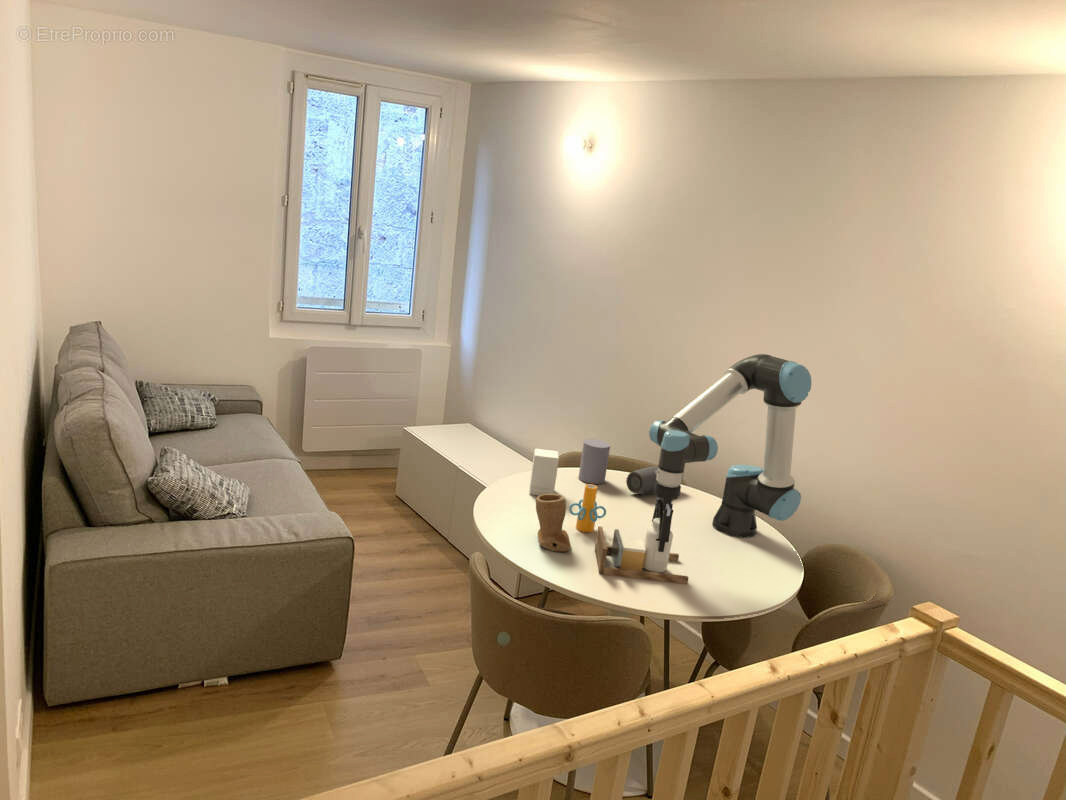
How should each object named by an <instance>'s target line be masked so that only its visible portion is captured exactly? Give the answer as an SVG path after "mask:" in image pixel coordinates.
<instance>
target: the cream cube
mask: <svg viewBox="0 0 1066 800" xmlns="http://www.w3.org/2000/svg"><path fill="white" fill-rule="evenodd" d="M621 540H622V544H623V554H622V560H621V566H620V568H622V569H631V570H639V571H643V561H644V556H645V552H646V549H645V546H644V541H643V539H636V538H628V537H621Z"/></svg>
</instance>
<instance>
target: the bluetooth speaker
mask: <svg viewBox="0 0 1066 800" xmlns="http://www.w3.org/2000/svg"><path fill="white" fill-rule="evenodd" d="M655 471H658V465H654V466H649V467H645V468H640V469H637V470H634V471H633V470H632V472H630V473H629V474H628V475H627V477H626V480H625V482H626V486H627V489H628V490H629V491H630V492H631V493H633V494H644V495H652V494H654V487H655V482H656V481H657V480H656V477H657V474H656V473H655Z"/></svg>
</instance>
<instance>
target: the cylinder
mask: <svg viewBox="0 0 1066 800" xmlns="http://www.w3.org/2000/svg"><path fill="white" fill-rule="evenodd" d="M597 493H598V486H597V484H590V483H587V484H585V485H584V491H583V499H580V500H579V502H574V503H571V504H570V506H569V508H568V511H569V513H570V515H573V516H577V517H576V525H575V528H576V530H577V531H579V532H583V533H592V532H594V531H595V525H596V522H597V521H598V519H602V518H604V517H605V516H606V515H607V509H606V508H605V507H604V505H598V504H597V501H596V499H597ZM575 506H576V507H578V512H573V510H572V508H573V507H575ZM599 509H602V510H603V514H601V515H598V512H597V510H599Z"/></svg>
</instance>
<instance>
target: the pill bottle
mask: <svg viewBox="0 0 1066 800" xmlns="http://www.w3.org/2000/svg"><path fill="white" fill-rule="evenodd" d="M652 519H653V518H652ZM659 524H660V518H655V519H653V522H652V524H651V525H650V526H649V527H648V528H647V529H646V532H645V537H644V541H643V543H644V546H645V549H646V552H645V556H644V561H643V567H642V569H645V571H648V572H656V573H664V572H665V571H666V570H667V568H668V563H669V560H668V559H669V554H670V553H671V549H672V543H673V539H674V535H673V532H672V531H671V530H670V535H669V542H666V548H665V553H664V559H663V562H662V561H654V554H655V548H656V543H657V541H656V539H658V536H659Z"/></svg>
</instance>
